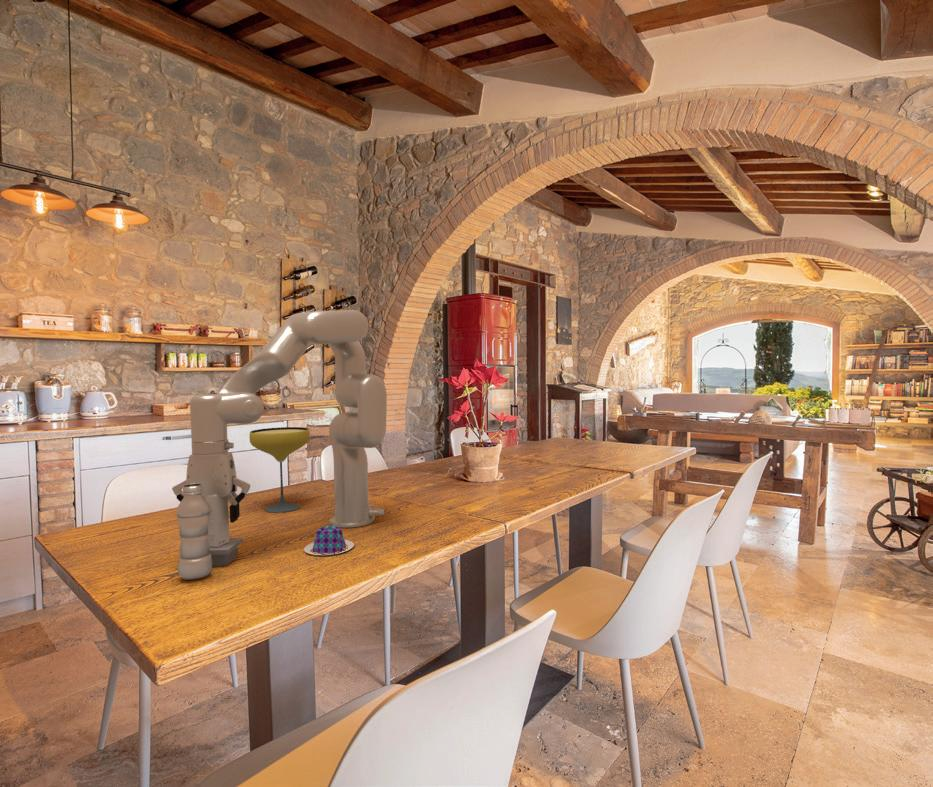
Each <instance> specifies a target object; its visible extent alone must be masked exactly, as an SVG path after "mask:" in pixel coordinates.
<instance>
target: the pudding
mask: <svg viewBox="0 0 933 787" xmlns="http://www.w3.org/2000/svg"><path fill="white" fill-rule="evenodd" d="M346 544H347V545H348V549H346V548H347V546H346ZM354 545H355V543H354V542H353V541H351V540H349V539H345V537H344V533H343V531H342V528H341V527H338V526H333V525H328V526H327V525H326V526H322V527H320V528H317V530H316V532H315V538H314V541H313V542H310V543H309V544H307V545H305V547H304V548H303V551H304V552H305V553H307V554H309V555H313V556H322V555H321V554H324V553H327V554H326V555H325V556H332V555H338V554H341V553H344V552H348V551H349V550H351V549H352V548H353V549H354ZM312 548H313V549H312ZM343 548H345V549H346V550H345V549H343ZM311 549H312V552H313V553H312V552H310V550H311ZM342 550H345V551H342ZM337 551H342V552H339V553H338V552H337ZM315 552H317V553H316V554H314V553H315ZM335 552H336V553H335ZM318 553H319V554H318ZM330 553H333V554H330ZM334 553H335V554H334Z"/></svg>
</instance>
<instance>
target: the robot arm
mask: <svg viewBox="0 0 933 787" xmlns="http://www.w3.org/2000/svg"><path fill="white" fill-rule="evenodd" d="M368 332H369V321H368V319H367V317H366V315H365V314H364V313H362V312H360V311H359V310H357V309H343V310H340V309H339V310H314V311H305V312H299V313H298V312H297V313H294V314H291V315H290V316H289V317H288V318H287V319H285V321H284V322H283V324H282V325H281V326H280V327H279V328H278V330H277V331H276V332H275V334H273V336H272V337H271V339H270V340H269V341H268V342H267V343H266V345H265V346H264V347H263V348H262V350H261V351H259V353H258V354H256V355H255V356H254V357H253V358H251V359H250V360H249V361H248V362H247V363H245V364H244V365H243V366H241V368H238V370H237V371H236V372H234V373H233V374H232V375H231V376H230V377H229V379H228V380H227V381H226V382H225V383H224V385H223V386H222V387H221V388H220V389H219V391H218V392H217V393H216V394H213V393H212V394H196V395H193V396H192V397H191V398H190V401H189V411H190V412H189V413H190V436H191V438H190V439H191V454H189V456H188V459H187V467H186V478H185V480H184V481H182V482H180V483H178V484H176V485H174V486H172V488H171V490H172V492H173V493H174V495H175V496H176V500H178V501H179V503H180V502H181V501H182V499H183V498H184V495H182V492H183V485H187V484H196V483H198V484H202V490H203V493H202V496H203V497H204V498H205V497H207V496H209V495H218V497H219V498H223V497H226V498H227V499H228V502H229V503H230V505H229V506H228V510H229V523H233V524H234V523H235V522H236V521H238V519H239V518H240V515H241V514H240V513H241V512H240V503H241V502H242V501H243V499H245V498H246V497H247V494H248V493H249V490H250V489H251V484H250V483H248V482H245V480H242V479H239V478H238V477H237V470H236V465H235V459H234V455H233V452H229V450H230V449H234V446H235V444H234V442H231V441H230V442H229V439H228V424H236V425H237V424H239V425H249V424H252V423H254V422H256V421H258V420H259V419H260V418H261V417H262V416H263V414H264V411H265V410H264V409H265V406H264V402H263V400H262V399H261V398H260V397H259V396H258V395H256V394H257V392H258V391H259V390H261V389H262V388H264V387H265V386H267V385H269V384H271V383H273V382H275V381H278V380H280V379H282V378H284V377H285V376H287V375H288V374H289V373H290V372H292V370H293V368H294V367H295V365H296V364H297V363H298V361H299V360H300V359H301V357H302V356H303V355H304V354H305V352H306V351H307V349H308V348H309V347H310V346H312V345H327V346H328V347H330V349H331V351H332V353H333V355H334V362H335V364H334V366H335V369H334V370H335V374H334V375H335V376H334V377H335V379H334V382H335V384H334V386H335V387H334V394H335V400H336V402H337V403H338V404H339V405H340V406H342V407H345V408H353V409H354V408H355V409H357V412H355V411H353V412H351V411H346V412H345V411H344V412H340V413H339V414H337V415H335V416H334V417H333V418H332V420H331V421H330V423H329V428H328V429H329V430H328V431H329V438H330V444H331V447H332V454H333V455H332V456H333V457H332V458H333V482H334V483H333V485H334V488H333V489H334V491H333V492H334V515H333V516H331V517H330V518H329V524H330V526H338V527H339V528H358V527H364V526H367V525H370V524H372V523H374V522H375V516H378V517H379V516H380V517H381V516H385V509H384V508H381V507H374V506H372V503H369V476H368V475H369V471H368V470H369V469H368V467H369V464H368V457H367V456H368V455H367V452H366V449H373V448H376V447H379V446H380V445H381V444H382V443H383V441H384V439H385V436H386V431H387V413H388V412H387V408H388V406H387V404H388V402H387V401H388V399H387V398H388V397H387V396H388V394H387V389H386V385H385V384H384V382H383V380H382V379H381V378H380V377H379V376H377V375H375V374H371V373H367V368H366V367H367V365H366V364H367V362H366V353H365V351H364V348H363V346H362V344H361V343H360V341H361V340H362V339H364V338H365V337H366V335H367V333H368ZM238 487H239V488H240V489H241V491H240V493H237V491H238Z"/></svg>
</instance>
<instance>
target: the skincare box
mask: <svg viewBox="0 0 933 787" xmlns="http://www.w3.org/2000/svg"><path fill="white" fill-rule="evenodd" d="M205 499H206V501H207V502H208V503H209V505H210V519H209V532H208V540H209V547H219V546H222V545H224V544H226V543H229V542H230V538H231V537H230V525H229V524H230V514H229V500H228V499H227V498H226V497H223V498H219V497H218V495H209V496H207V497H205Z"/></svg>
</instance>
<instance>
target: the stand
mask: <svg viewBox="0 0 933 787" xmlns="http://www.w3.org/2000/svg"><path fill="white" fill-rule="evenodd" d="M229 538H230V542H229V543H226V544H224V545H222V546H219V547H209V548H210V554H211V557H212V567H226V566H228V565H229V564H230V563H232V561H234V560H235V558H237V557H238V554H239V552H238V546H239V545H241V544H242V543H243V542H244V537H229Z"/></svg>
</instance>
